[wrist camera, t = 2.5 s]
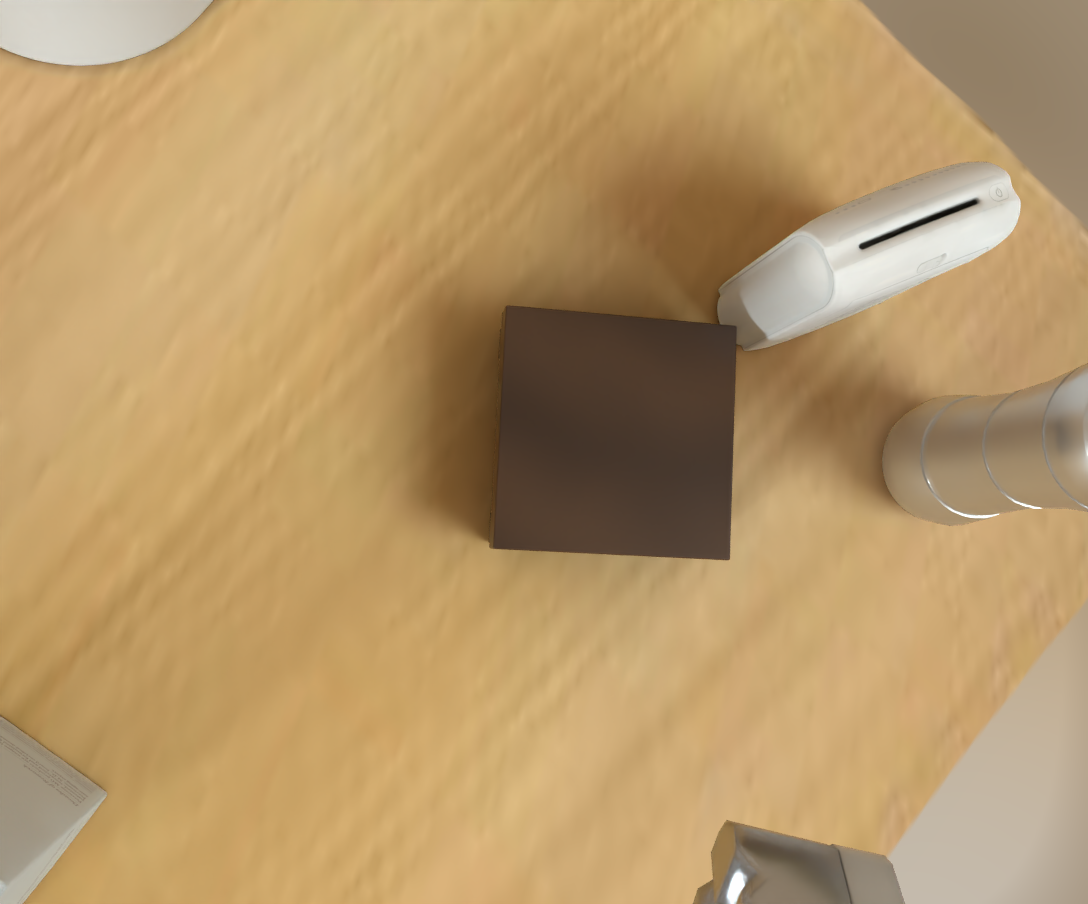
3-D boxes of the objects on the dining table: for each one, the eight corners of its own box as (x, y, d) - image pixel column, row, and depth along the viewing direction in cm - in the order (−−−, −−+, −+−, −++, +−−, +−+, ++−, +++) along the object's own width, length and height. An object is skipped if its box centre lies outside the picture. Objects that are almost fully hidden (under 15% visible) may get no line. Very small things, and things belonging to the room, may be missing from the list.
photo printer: (871, 221, 53) (1019, 127, 41) (903, 296, 53) (1060, 223, 41) (701, 287, 51) (804, 208, 39) (733, 364, 51) (846, 309, 39)
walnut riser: (495, 323, 49) (505, 304, 46) (709, 341, 51) (737, 325, 47) (482, 548, 48) (493, 548, 44) (702, 558, 50) (730, 560, 46)
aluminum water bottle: (843, 440, 52) (1131, 379, 32) (946, 380, 53) (1281, 285, 34) (904, 549, 52) (1227, 554, 32) (1004, 486, 53) (1374, 454, 34)
